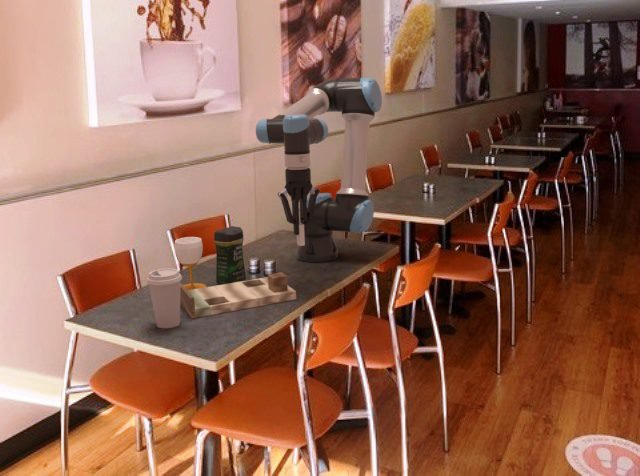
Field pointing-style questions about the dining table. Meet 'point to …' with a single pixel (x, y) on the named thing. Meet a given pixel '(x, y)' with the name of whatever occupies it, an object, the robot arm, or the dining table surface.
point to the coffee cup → (165, 296)
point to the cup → (189, 256)
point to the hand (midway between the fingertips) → (300, 244)
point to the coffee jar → (229, 255)
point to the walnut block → (277, 282)
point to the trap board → (231, 297)
